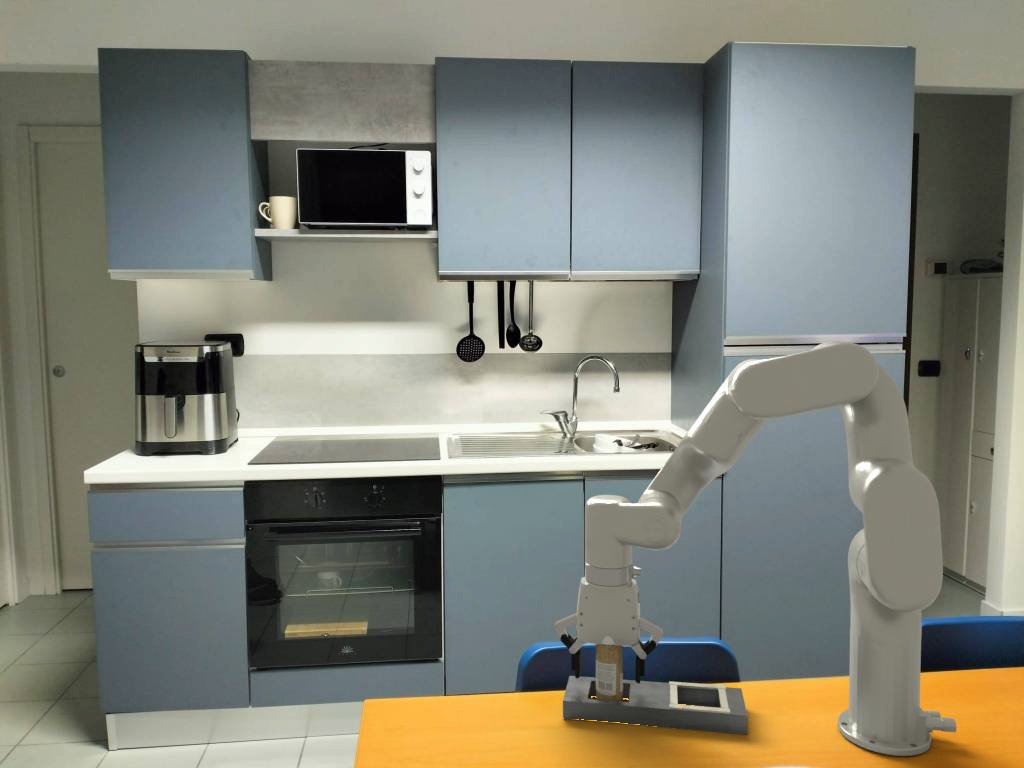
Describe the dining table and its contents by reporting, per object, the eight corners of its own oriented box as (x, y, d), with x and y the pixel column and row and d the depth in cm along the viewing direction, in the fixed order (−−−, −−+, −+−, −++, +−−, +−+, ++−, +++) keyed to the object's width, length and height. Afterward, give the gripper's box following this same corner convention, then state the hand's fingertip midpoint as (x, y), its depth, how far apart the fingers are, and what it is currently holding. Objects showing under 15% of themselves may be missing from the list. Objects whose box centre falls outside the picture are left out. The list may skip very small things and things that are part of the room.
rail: (741, 706, 124) (741, 686, 123) (747, 734, 115) (747, 713, 114) (569, 692, 129) (569, 673, 129) (563, 719, 120) (562, 698, 120)
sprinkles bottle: (629, 709, 123) (629, 627, 122) (611, 719, 120) (611, 635, 119) (607, 699, 126) (606, 620, 126) (589, 709, 123) (588, 628, 122)
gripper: (663, 569, 124) (662, 671, 125) (558, 563, 127) (558, 663, 128) (663, 584, 116) (662, 692, 118) (551, 577, 120) (551, 683, 121)
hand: (608, 677), depth 123 cm, fingers open, 9 cm apart
